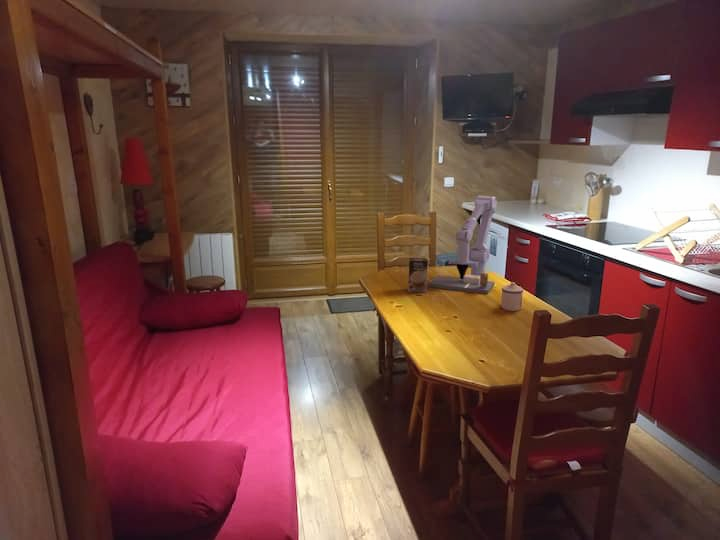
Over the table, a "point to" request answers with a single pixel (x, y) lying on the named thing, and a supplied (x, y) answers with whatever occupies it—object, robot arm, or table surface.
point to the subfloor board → (459, 285)
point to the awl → (483, 280)
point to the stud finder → (471, 279)
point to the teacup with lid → (511, 297)
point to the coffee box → (417, 275)
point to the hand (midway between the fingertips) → (462, 278)
